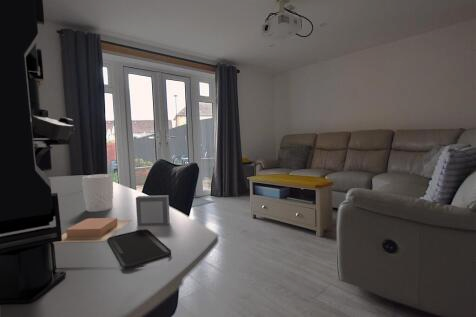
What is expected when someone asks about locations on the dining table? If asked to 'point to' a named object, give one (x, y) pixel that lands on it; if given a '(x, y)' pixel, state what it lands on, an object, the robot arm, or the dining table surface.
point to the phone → (137, 248)
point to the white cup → (98, 192)
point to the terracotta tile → (92, 227)
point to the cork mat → (96, 238)
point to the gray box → (152, 210)
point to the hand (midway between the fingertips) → (29, 181)
